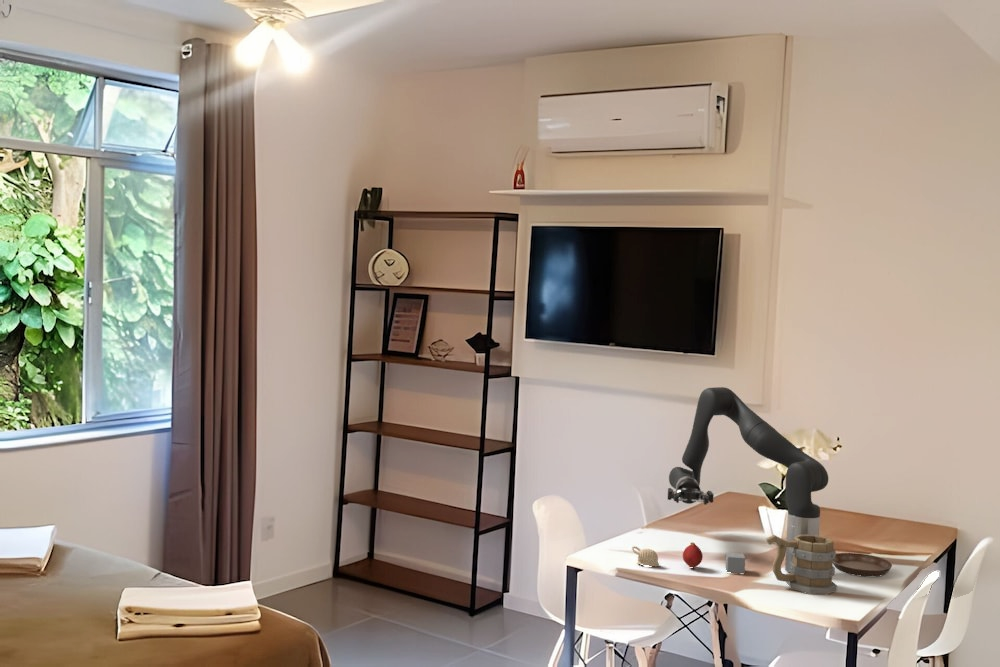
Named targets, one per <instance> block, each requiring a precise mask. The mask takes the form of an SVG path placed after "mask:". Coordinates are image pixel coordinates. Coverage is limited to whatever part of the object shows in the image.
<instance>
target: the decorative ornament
mask: <svg viewBox="0 0 1000 667" xmlns="http://www.w3.org/2000/svg"><path fill="white" fill-rule="evenodd" d="M635 549H636V550H638V552H637V551H636V550H635ZM631 550H632V552H633V553H634V554H636V555H638V556H637V562H636V564H637V563H638V564H637V565H639V564H643V565H649V566H655V567H659V564H660V563H659V556H658V554H657V552H656V551H655V550H654V549H651V548H642V549H641V548H639V547H638V546H632V547H631Z"/></svg>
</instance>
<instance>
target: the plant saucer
mask: <svg viewBox="0 0 1000 667" xmlns="http://www.w3.org/2000/svg"><path fill="white" fill-rule="evenodd" d="M892 566H893V565H892V563H891V562H890V561H888V560H887V559H885V558H883V557H880V556H876V555H871V554H865V553H858V552H857V553H856V552H842V553H836V556H835V559H833V567H834V568H835V569H837V570H838V571H840V572H842V573H845V574H850V575H852V574H854V575H853V576H857V575H861V576H860V577H866V576H876V577H881V576H880V575H882V576H885V574H886V573H888V572H889V571H890V570H891V568H892Z"/></svg>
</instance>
